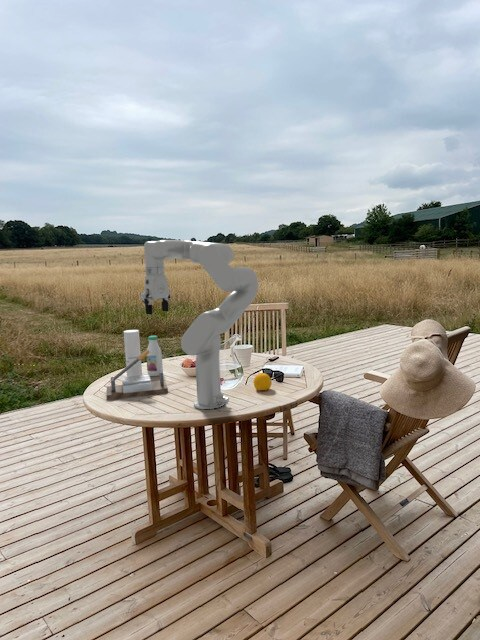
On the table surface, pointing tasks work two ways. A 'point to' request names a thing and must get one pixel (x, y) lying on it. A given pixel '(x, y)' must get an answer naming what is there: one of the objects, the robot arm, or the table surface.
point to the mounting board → (119, 392)
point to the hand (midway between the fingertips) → (157, 312)
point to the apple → (262, 381)
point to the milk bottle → (154, 357)
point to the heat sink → (136, 383)
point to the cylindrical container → (132, 352)
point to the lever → (132, 364)
